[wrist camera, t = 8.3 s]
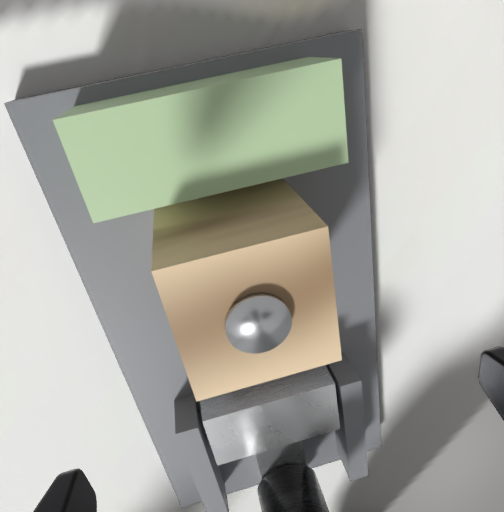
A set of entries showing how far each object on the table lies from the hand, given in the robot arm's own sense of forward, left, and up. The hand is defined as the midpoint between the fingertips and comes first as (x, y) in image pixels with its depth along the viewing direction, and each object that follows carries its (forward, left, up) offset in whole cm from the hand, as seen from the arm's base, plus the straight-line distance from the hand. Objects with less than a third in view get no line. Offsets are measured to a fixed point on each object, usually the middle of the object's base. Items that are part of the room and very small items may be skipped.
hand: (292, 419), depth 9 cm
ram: (-11, 0, -9) cm, 14 cm away
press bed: (-4, 0, -10) cm, 11 cm away
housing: (0, 0, -9) cm, 9 cm away
